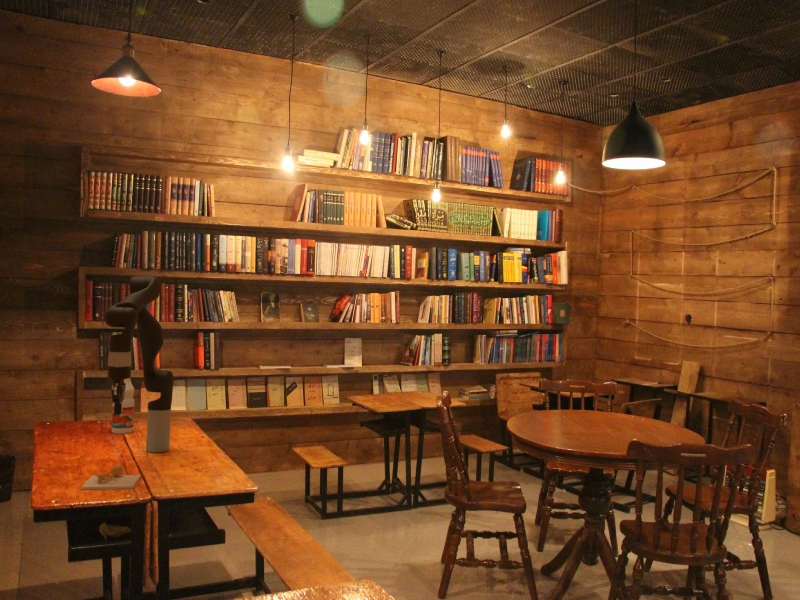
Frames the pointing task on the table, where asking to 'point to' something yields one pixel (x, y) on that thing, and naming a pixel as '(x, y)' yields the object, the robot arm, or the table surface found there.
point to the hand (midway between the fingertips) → (117, 414)
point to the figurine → (115, 471)
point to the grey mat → (112, 482)
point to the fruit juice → (125, 412)
